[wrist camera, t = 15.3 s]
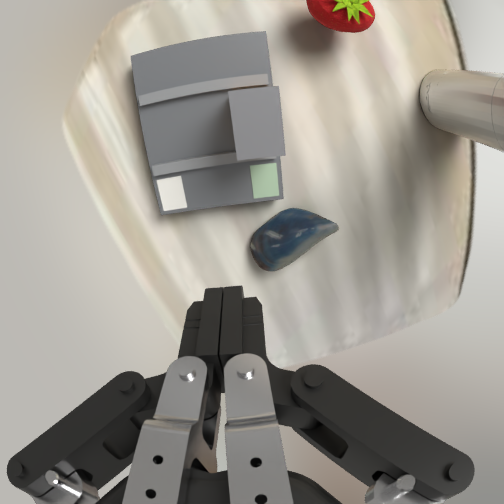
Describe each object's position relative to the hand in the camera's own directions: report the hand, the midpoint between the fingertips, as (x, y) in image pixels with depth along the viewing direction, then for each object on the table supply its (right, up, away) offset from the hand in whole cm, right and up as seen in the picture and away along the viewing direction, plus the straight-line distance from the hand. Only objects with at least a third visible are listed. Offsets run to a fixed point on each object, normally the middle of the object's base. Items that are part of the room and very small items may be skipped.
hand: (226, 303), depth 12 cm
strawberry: (+10, +30, +14) cm, 35 cm away
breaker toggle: (+1, +17, +17) cm, 24 cm away
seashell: (+6, +5, +28) cm, 29 cm away
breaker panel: (-4, +18, +20) cm, 27 cm away
